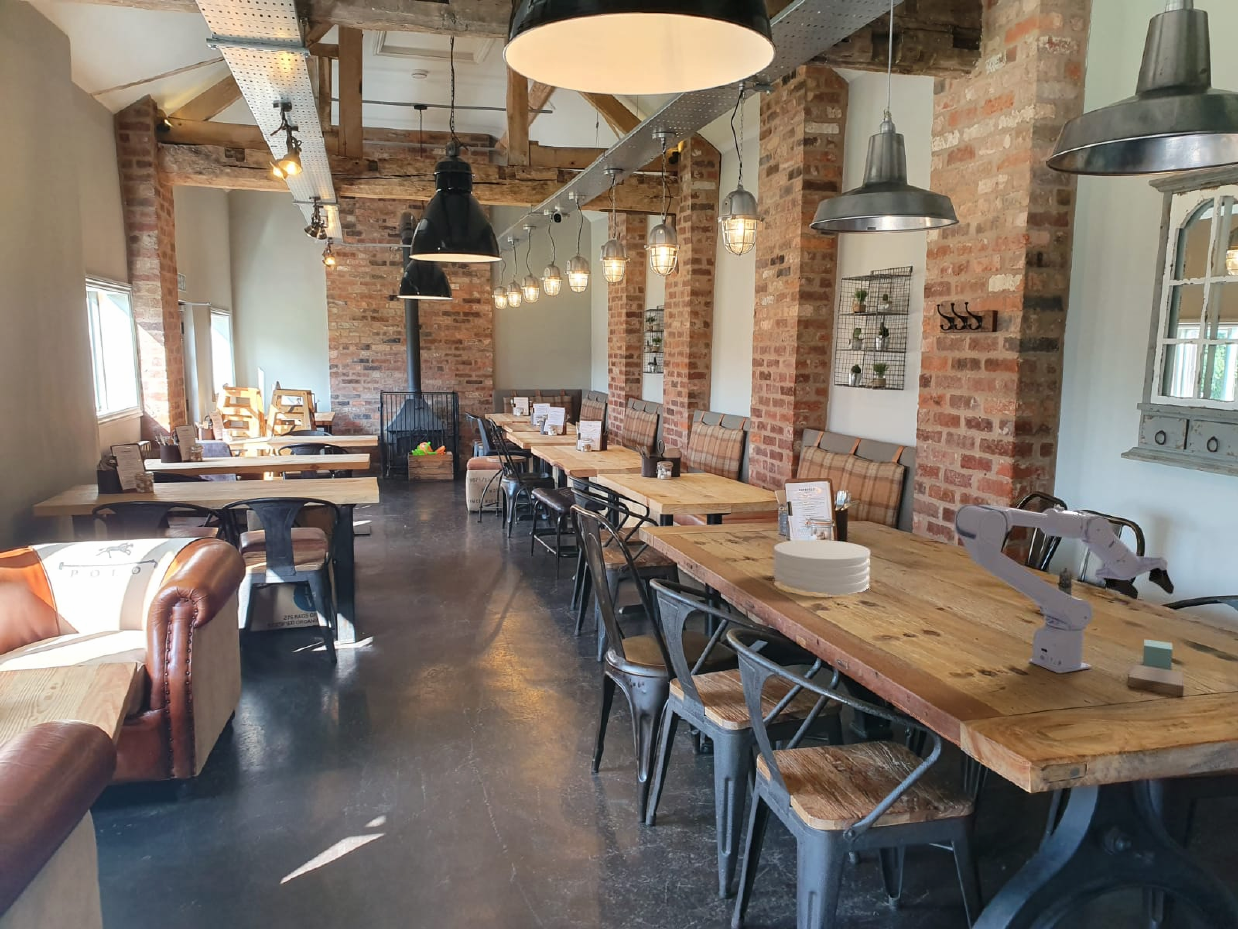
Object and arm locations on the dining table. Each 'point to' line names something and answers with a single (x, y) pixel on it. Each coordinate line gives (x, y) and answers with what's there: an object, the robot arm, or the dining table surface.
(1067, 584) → the salt shaker
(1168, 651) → the teal cube
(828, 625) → the dining table surface
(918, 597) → the dining table surface
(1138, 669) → the walnut base
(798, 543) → the plate stack
